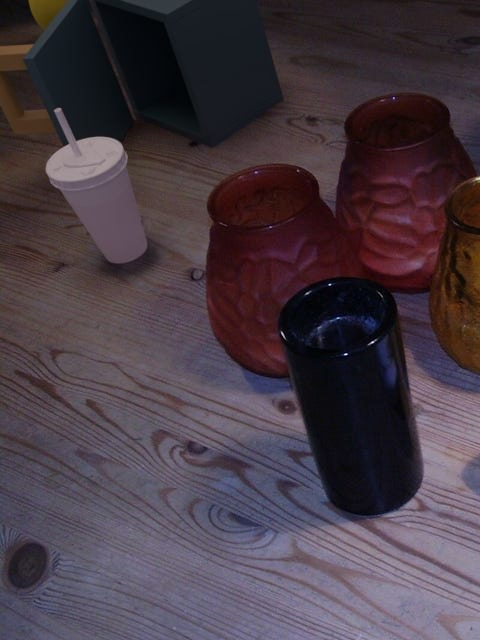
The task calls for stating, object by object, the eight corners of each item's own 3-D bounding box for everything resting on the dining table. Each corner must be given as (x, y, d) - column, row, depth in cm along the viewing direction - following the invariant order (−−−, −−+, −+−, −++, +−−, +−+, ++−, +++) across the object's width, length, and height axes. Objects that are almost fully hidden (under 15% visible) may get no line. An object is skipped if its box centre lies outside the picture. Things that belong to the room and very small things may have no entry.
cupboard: (213, 149, 98) (166, 14, 88) (135, 118, 104) (83, -12, 94) (284, 100, 103) (248, -33, 93) (206, 73, 109) (164, -55, 99)
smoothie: (122, 221, 91) (61, 84, 81) (177, 236, 88) (120, 95, 78) (74, 265, 87) (3, 126, 77) (131, 281, 85) (65, 140, 75)
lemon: (36, 44, 118) (7, -21, 112) (73, 23, 121) (46, -42, 115) (66, 54, 116) (37, -13, 110) (102, 32, 118) (76, -34, 113)
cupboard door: (31, 192, 96) (-36, 62, 86) (76, 123, 104) (20, -3, 94) (93, 189, 95) (32, 58, 85) (134, 120, 103) (83, -7, 93)
